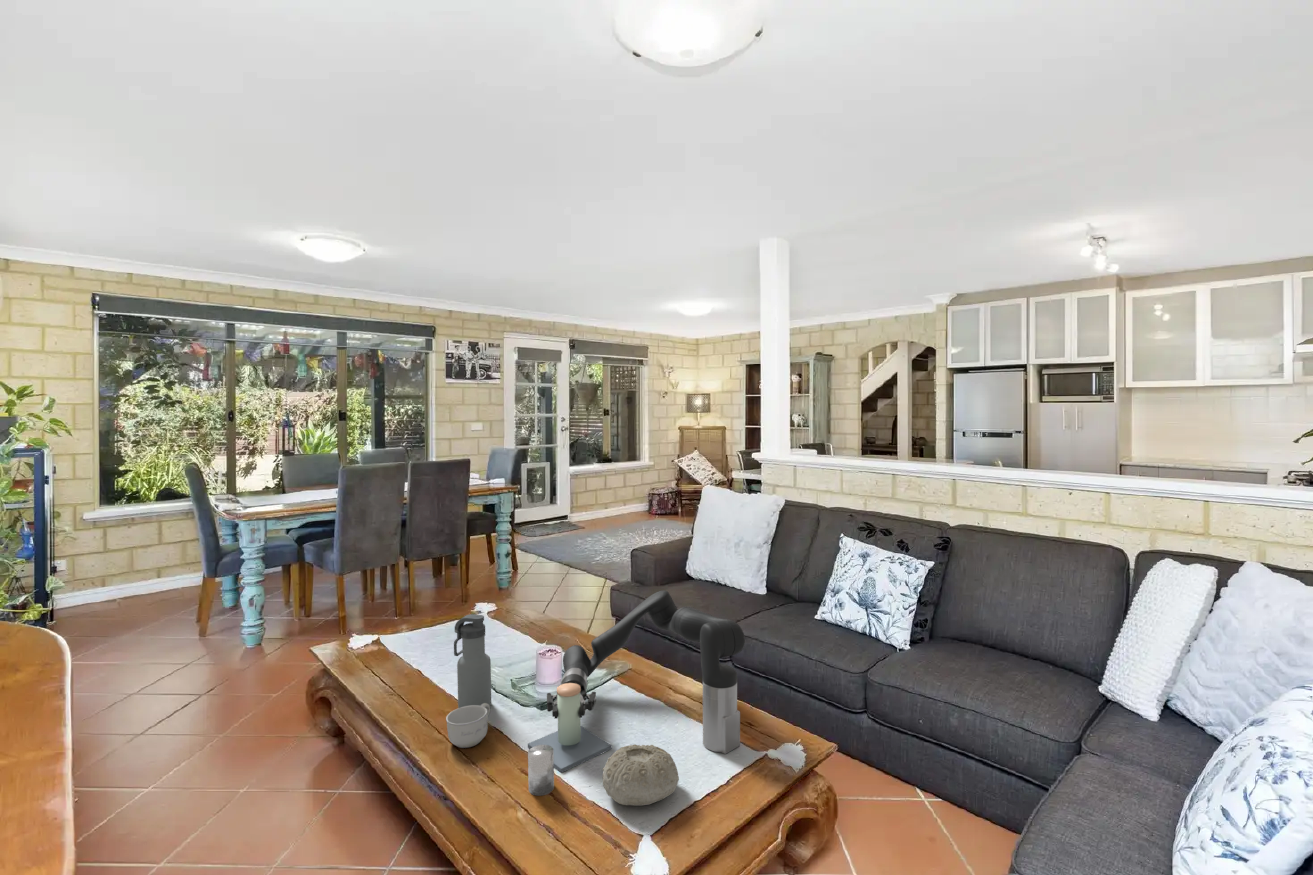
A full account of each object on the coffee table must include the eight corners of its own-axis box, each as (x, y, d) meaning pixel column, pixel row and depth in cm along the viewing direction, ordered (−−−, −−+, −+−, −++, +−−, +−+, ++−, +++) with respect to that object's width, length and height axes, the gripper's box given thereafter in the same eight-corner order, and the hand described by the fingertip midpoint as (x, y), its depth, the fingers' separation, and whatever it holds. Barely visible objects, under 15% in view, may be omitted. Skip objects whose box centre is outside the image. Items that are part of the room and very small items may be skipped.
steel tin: (558, 788, 150) (558, 751, 150) (537, 799, 146) (536, 761, 146) (545, 777, 155) (544, 741, 154) (523, 787, 151) (523, 751, 150)
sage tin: (585, 735, 169) (584, 685, 169) (573, 747, 164) (573, 695, 163) (565, 731, 172) (564, 681, 171) (553, 742, 166) (552, 691, 165)
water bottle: (450, 712, 188) (448, 620, 186) (467, 697, 197) (465, 610, 196) (481, 716, 185) (479, 623, 184) (497, 701, 195) (495, 612, 193)
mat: (611, 748, 167) (611, 745, 167) (561, 772, 157) (561, 768, 156) (576, 726, 179) (576, 722, 179) (527, 747, 168) (527, 743, 168)
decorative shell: (637, 763, 160) (637, 725, 160) (693, 790, 149) (693, 749, 149) (587, 797, 147) (586, 756, 146) (645, 829, 135) (644, 784, 135)
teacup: (462, 757, 164) (462, 727, 163) (438, 744, 170) (437, 715, 170) (505, 734, 175) (504, 706, 174) (480, 723, 181) (480, 696, 181)
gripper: (598, 698, 182) (595, 727, 165) (548, 699, 181) (540, 729, 165) (598, 672, 182) (595, 700, 165) (548, 673, 181) (540, 701, 164)
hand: (568, 714), depth 165 cm, fingers closed on sage tin, 6 cm apart
